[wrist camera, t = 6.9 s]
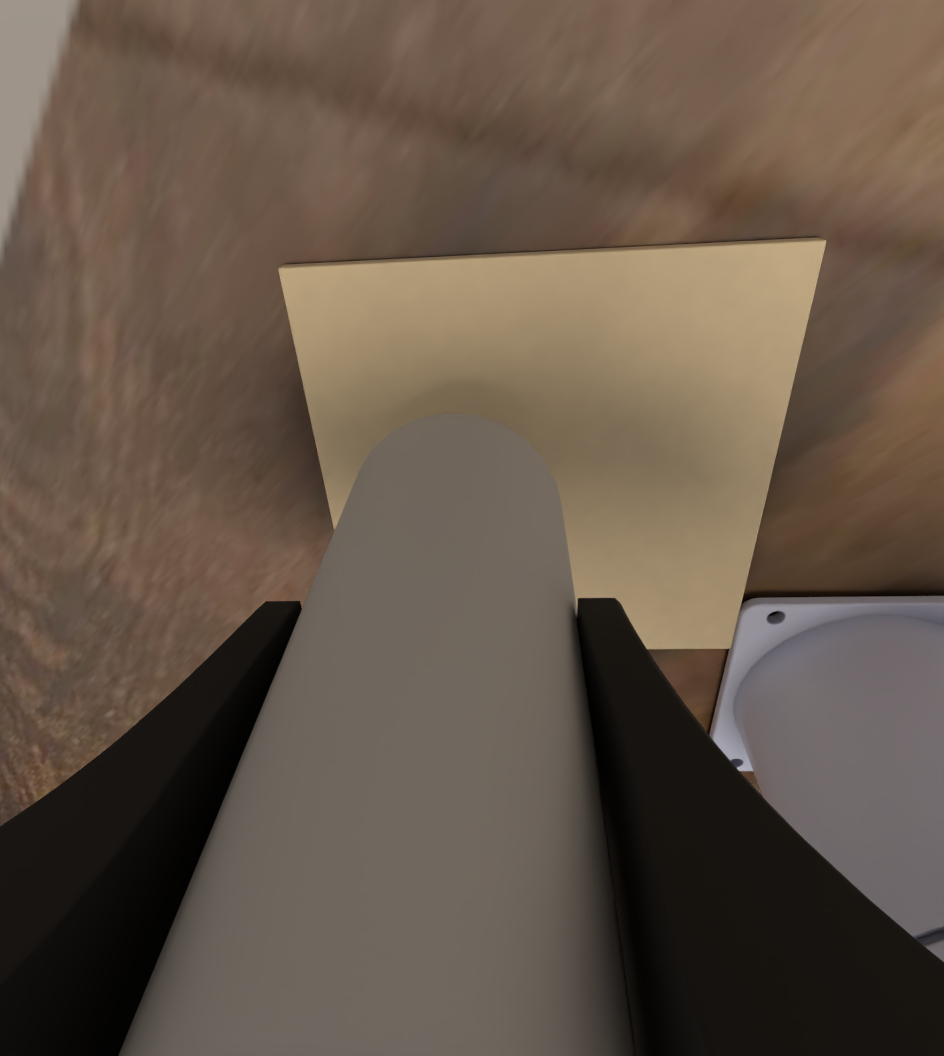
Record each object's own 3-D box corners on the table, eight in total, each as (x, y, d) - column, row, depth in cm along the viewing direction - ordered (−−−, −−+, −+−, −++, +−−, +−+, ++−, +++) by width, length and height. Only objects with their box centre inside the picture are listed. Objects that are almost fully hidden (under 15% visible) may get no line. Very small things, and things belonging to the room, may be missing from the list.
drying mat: (820, 236, 14) (827, 240, 13) (727, 640, 20) (731, 649, 20) (282, 264, 15) (277, 267, 14) (362, 642, 21) (359, 651, 21)
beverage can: (400, 366, 13) (77, 1136, 3) (599, 453, 14) (806, 1262, 4) (334, 535, 16) (40, 1257, 6) (506, 600, 17) (502, 1322, 7)
